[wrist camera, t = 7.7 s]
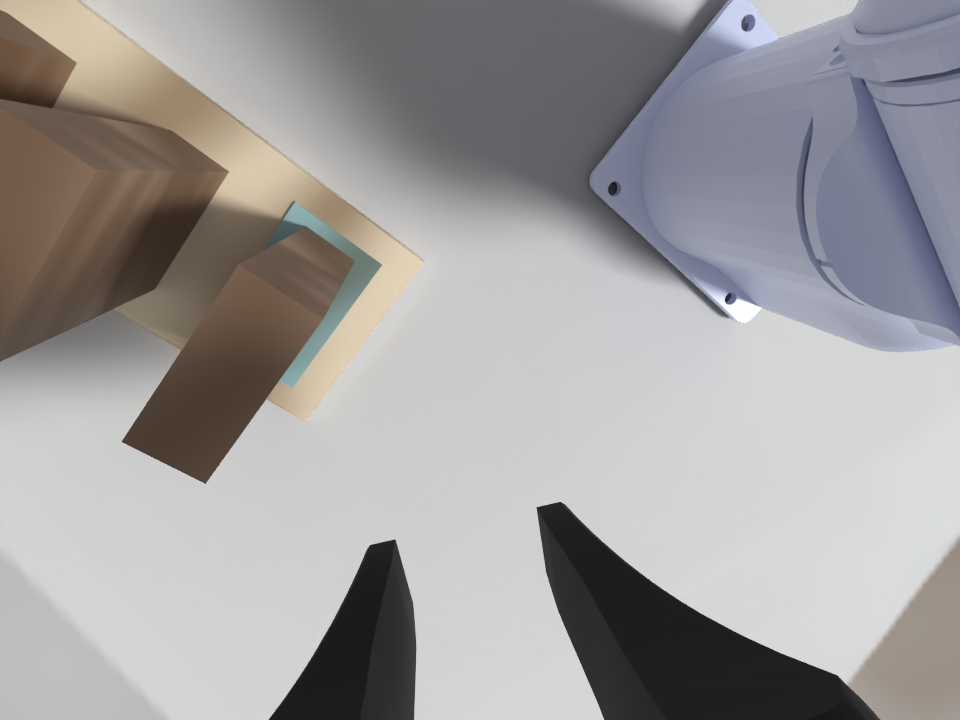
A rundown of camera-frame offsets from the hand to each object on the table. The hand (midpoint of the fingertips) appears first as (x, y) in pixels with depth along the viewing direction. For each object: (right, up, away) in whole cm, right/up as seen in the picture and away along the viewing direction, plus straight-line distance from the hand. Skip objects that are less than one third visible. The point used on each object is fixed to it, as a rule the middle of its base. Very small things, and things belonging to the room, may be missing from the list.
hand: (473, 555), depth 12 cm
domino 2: (-7, +7, +6) cm, 12 cm away
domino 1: (-11, +10, +5) cm, 15 cm away
